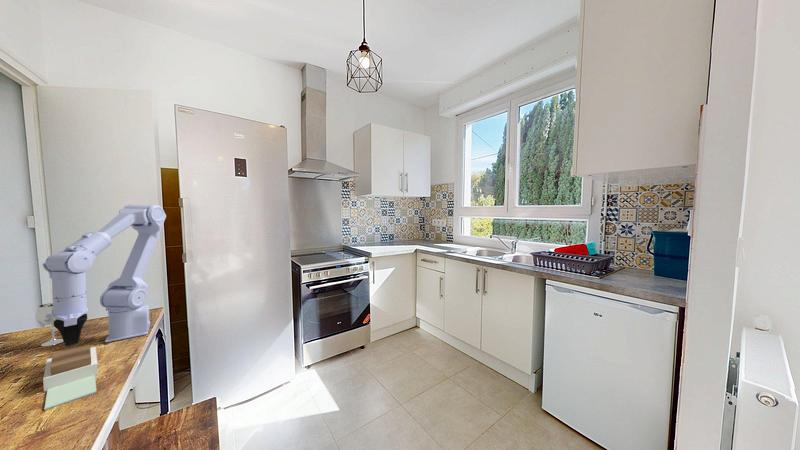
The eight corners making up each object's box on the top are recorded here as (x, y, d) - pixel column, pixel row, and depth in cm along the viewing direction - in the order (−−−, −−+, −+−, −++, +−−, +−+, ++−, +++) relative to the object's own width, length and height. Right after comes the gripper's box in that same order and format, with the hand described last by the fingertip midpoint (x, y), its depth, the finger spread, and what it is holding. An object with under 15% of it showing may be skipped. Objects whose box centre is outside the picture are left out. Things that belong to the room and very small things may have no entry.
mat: (47, 390, 59) (47, 389, 59) (94, 375, 65) (94, 374, 64) (44, 410, 53) (44, 408, 53) (96, 392, 59) (96, 391, 59)
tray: (47, 370, 66) (47, 359, 66) (95, 357, 72) (95, 346, 72) (43, 391, 59) (43, 379, 58) (98, 374, 65) (97, 363, 65)
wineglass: (72, 340, 81) (70, 302, 81) (42, 349, 76) (40, 309, 75) (63, 336, 83) (61, 300, 82) (33, 345, 78) (31, 306, 77)
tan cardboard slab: (53, 361, 65) (52, 353, 65) (90, 351, 70) (89, 344, 70) (50, 376, 60) (50, 367, 59) (91, 364, 64) (90, 356, 64)
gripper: (47, 292, 72) (49, 340, 72) (42, 305, 63) (45, 360, 63) (87, 287, 77) (88, 331, 78) (88, 298, 68) (90, 348, 69)
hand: (72, 343), depth 71 cm, fingers closed
